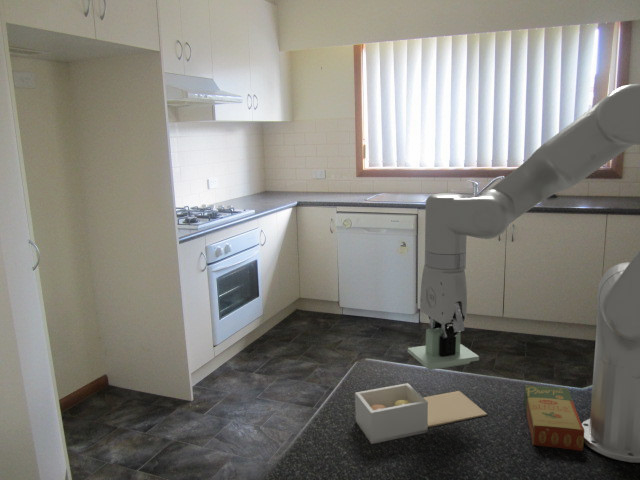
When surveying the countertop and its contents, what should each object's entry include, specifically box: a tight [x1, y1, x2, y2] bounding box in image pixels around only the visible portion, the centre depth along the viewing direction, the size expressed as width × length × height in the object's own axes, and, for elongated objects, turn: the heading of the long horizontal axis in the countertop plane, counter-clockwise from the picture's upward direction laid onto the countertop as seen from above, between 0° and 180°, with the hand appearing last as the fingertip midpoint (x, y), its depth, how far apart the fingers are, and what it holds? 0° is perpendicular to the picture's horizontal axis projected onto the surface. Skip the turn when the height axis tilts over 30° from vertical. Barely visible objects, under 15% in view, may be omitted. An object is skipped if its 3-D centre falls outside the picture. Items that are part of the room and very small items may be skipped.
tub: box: [354, 382, 429, 445], centre depth 98 cm, size 11×8×6 cm
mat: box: [422, 390, 488, 428], centre depth 105 cm, size 13×10×1 cm
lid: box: [407, 326, 480, 371], centre depth 102 cm, size 11×8×6 cm
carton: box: [523, 384, 585, 452], centre depth 98 cm, size 8×16×4 cm, turn 165°
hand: (442, 351), depth 103 cm, fingers closed on lid, 2 cm apart
